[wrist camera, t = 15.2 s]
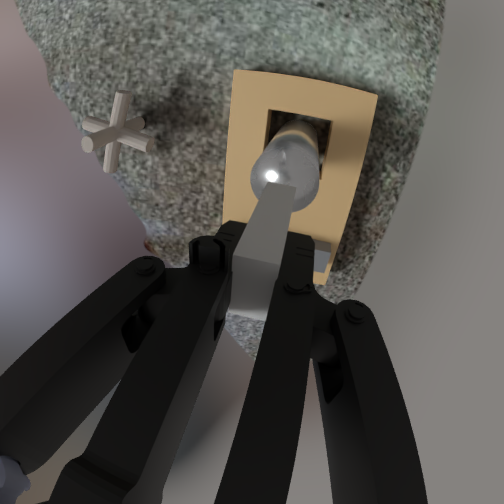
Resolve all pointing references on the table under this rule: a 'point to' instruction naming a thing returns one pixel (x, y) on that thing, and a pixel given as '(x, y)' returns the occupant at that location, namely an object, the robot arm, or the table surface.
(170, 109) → the table surface
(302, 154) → the grey metal cylinder
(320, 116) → the jig
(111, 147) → the pipe connector
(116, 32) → the table surface
